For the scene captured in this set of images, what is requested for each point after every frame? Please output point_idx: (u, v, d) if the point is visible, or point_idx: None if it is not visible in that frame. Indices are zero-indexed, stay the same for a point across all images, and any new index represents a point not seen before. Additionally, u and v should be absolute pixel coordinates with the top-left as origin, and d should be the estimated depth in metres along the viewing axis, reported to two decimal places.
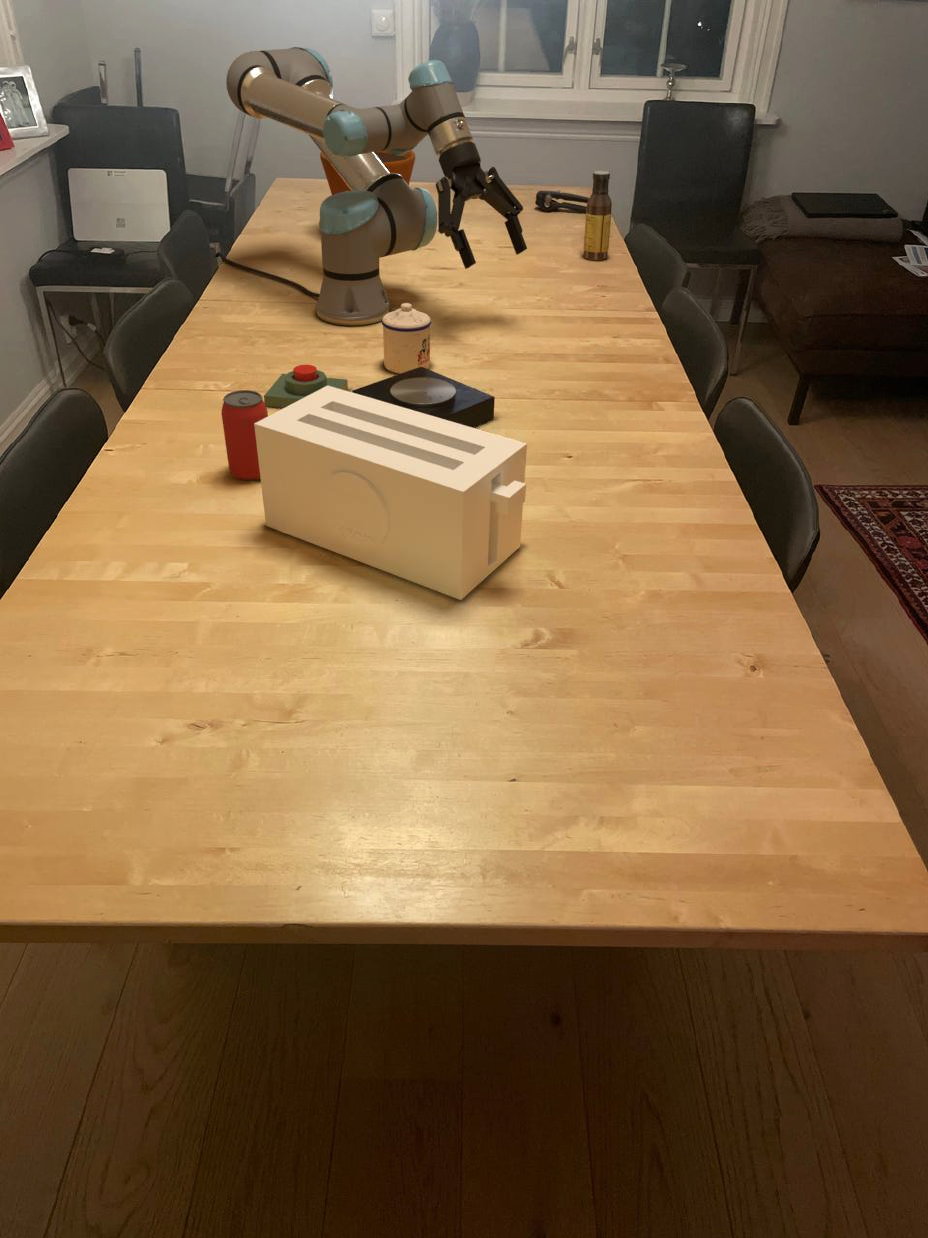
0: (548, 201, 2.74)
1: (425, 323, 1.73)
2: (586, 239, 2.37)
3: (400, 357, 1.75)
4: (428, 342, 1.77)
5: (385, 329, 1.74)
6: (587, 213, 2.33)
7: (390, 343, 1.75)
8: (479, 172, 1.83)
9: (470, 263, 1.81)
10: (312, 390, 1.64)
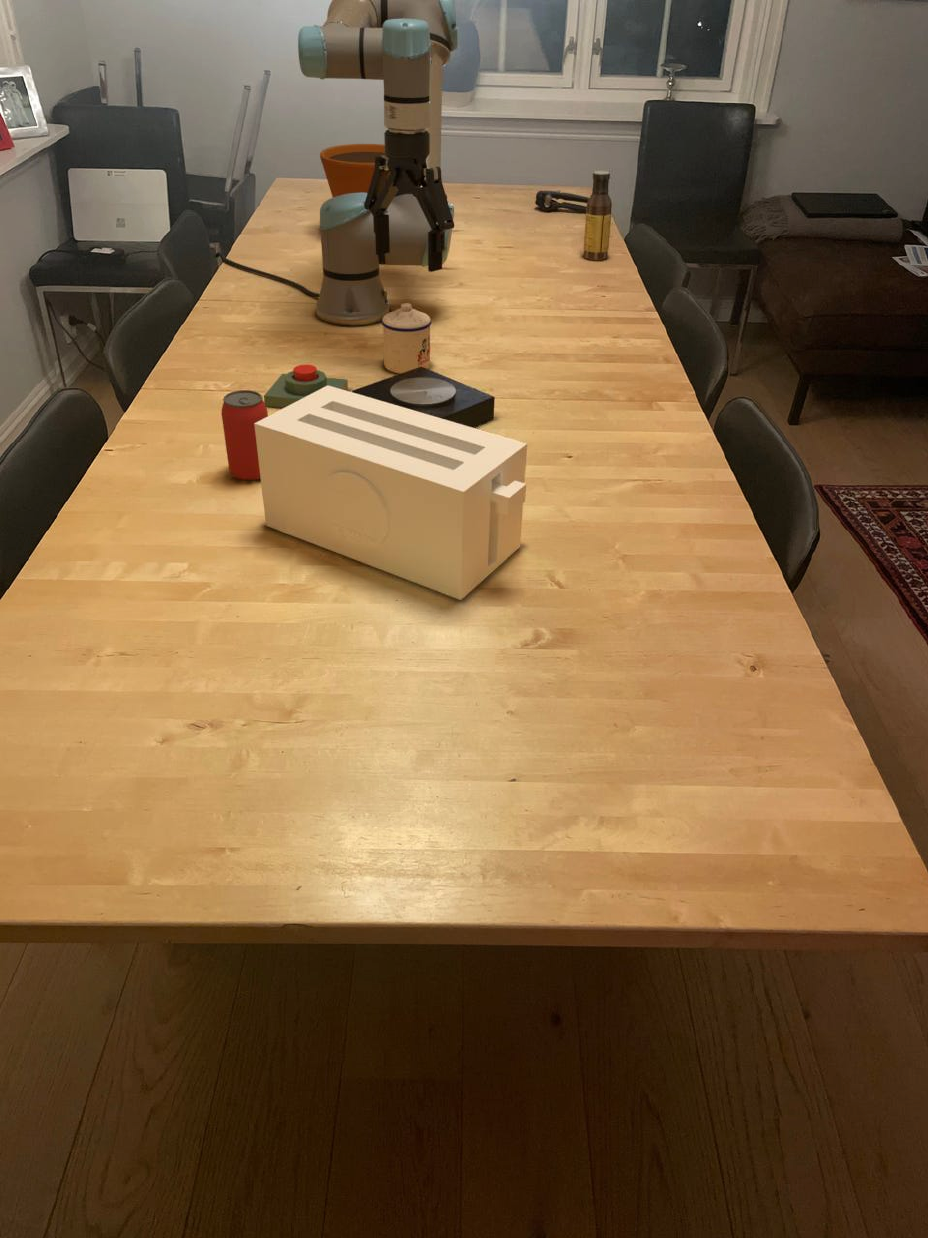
0: (548, 201, 2.74)
1: (425, 323, 1.73)
2: (586, 239, 2.37)
3: (400, 357, 1.75)
4: (428, 342, 1.77)
5: (385, 329, 1.74)
6: (587, 213, 2.33)
7: (390, 343, 1.75)
8: (413, 168, 1.59)
9: None
10: (312, 390, 1.64)
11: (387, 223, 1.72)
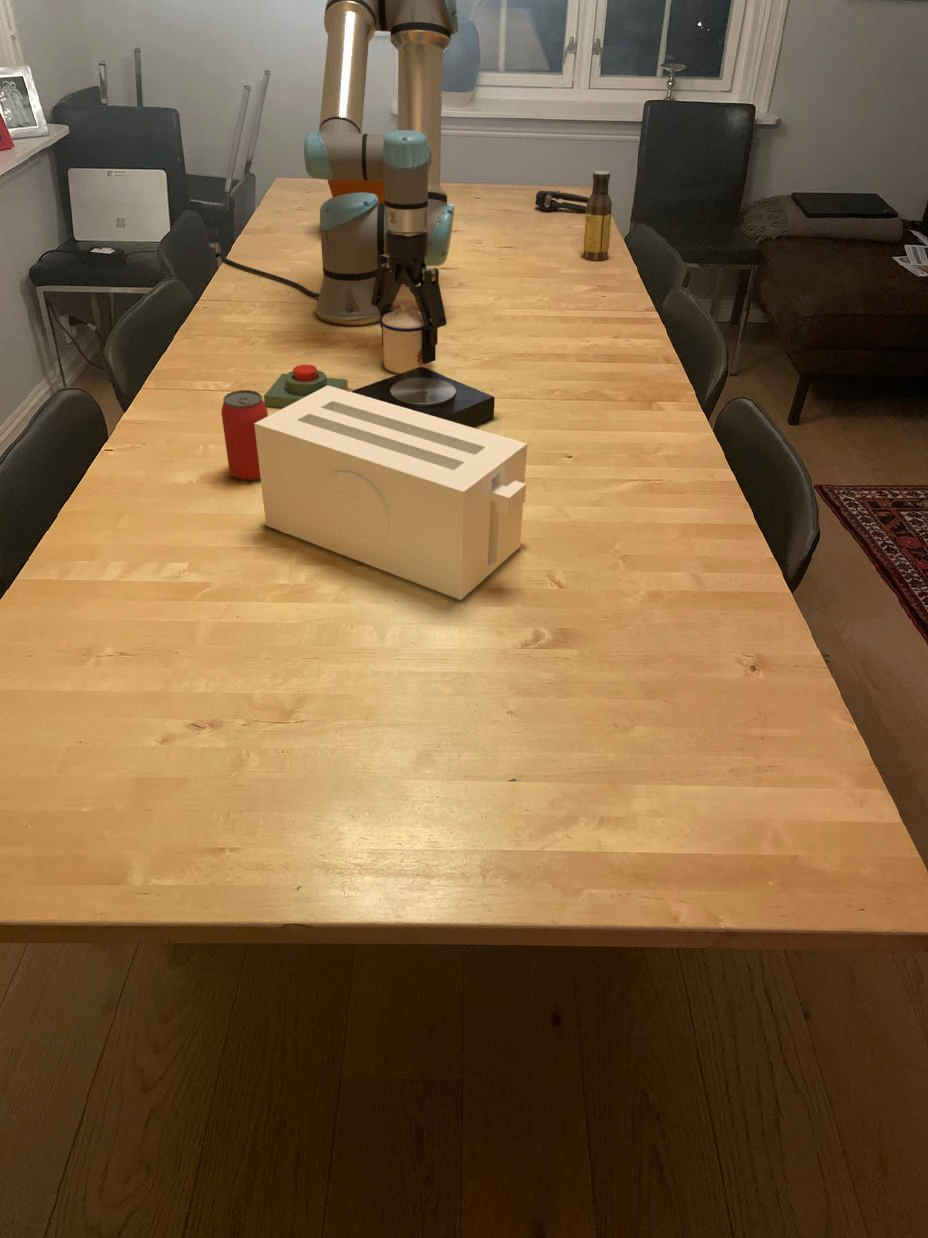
0: (548, 201, 2.74)
1: None
2: (586, 239, 2.37)
3: (400, 357, 1.75)
4: None
5: (385, 329, 1.74)
6: (587, 213, 2.33)
7: (390, 343, 1.75)
8: (412, 266, 1.68)
9: None
10: (312, 390, 1.64)
11: None
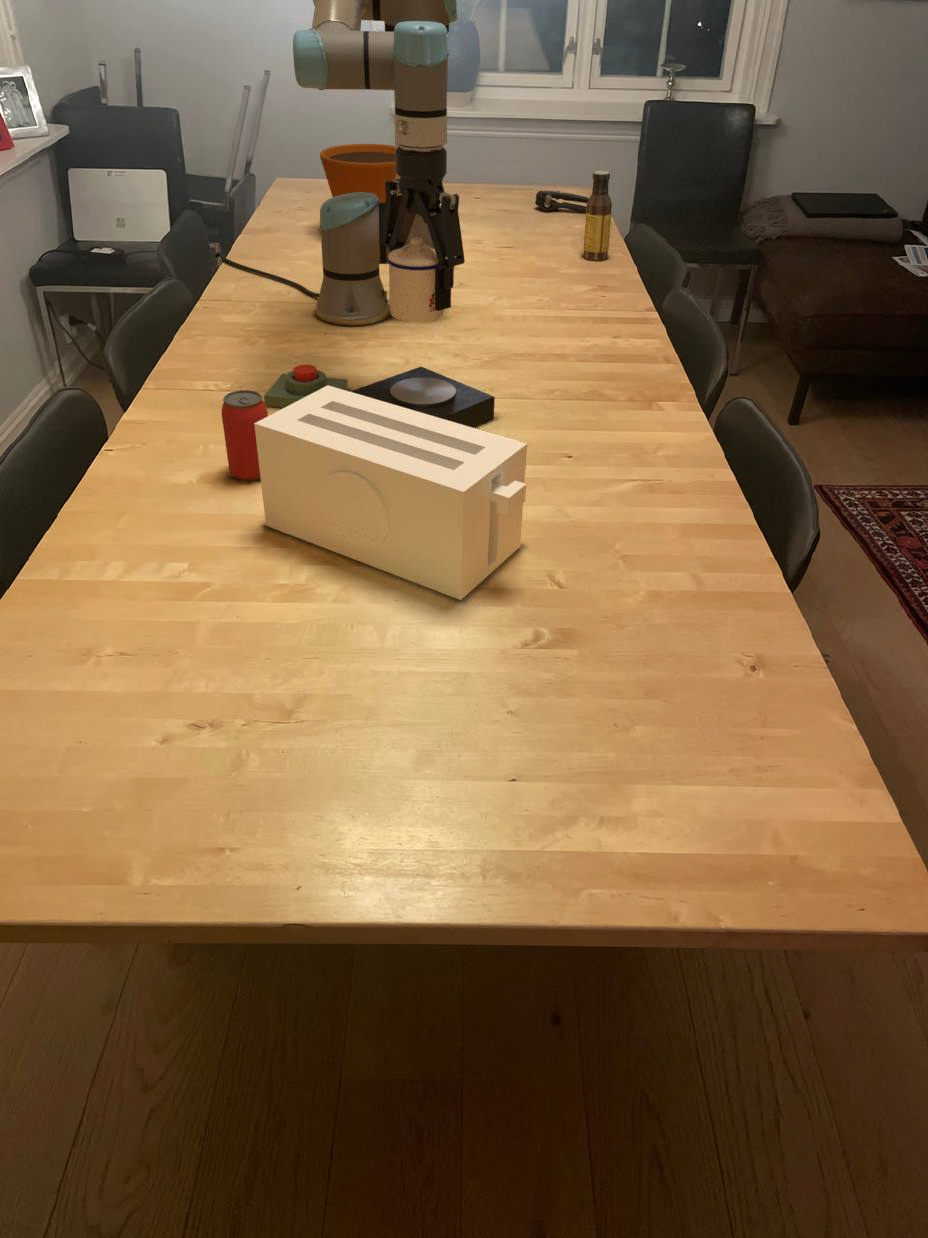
0: (548, 201, 2.74)
1: None
2: (586, 239, 2.37)
3: (409, 302, 1.48)
4: None
5: (391, 268, 1.47)
6: (587, 213, 2.33)
7: (397, 284, 1.48)
8: (428, 189, 1.41)
9: None
10: (312, 390, 1.64)
11: None
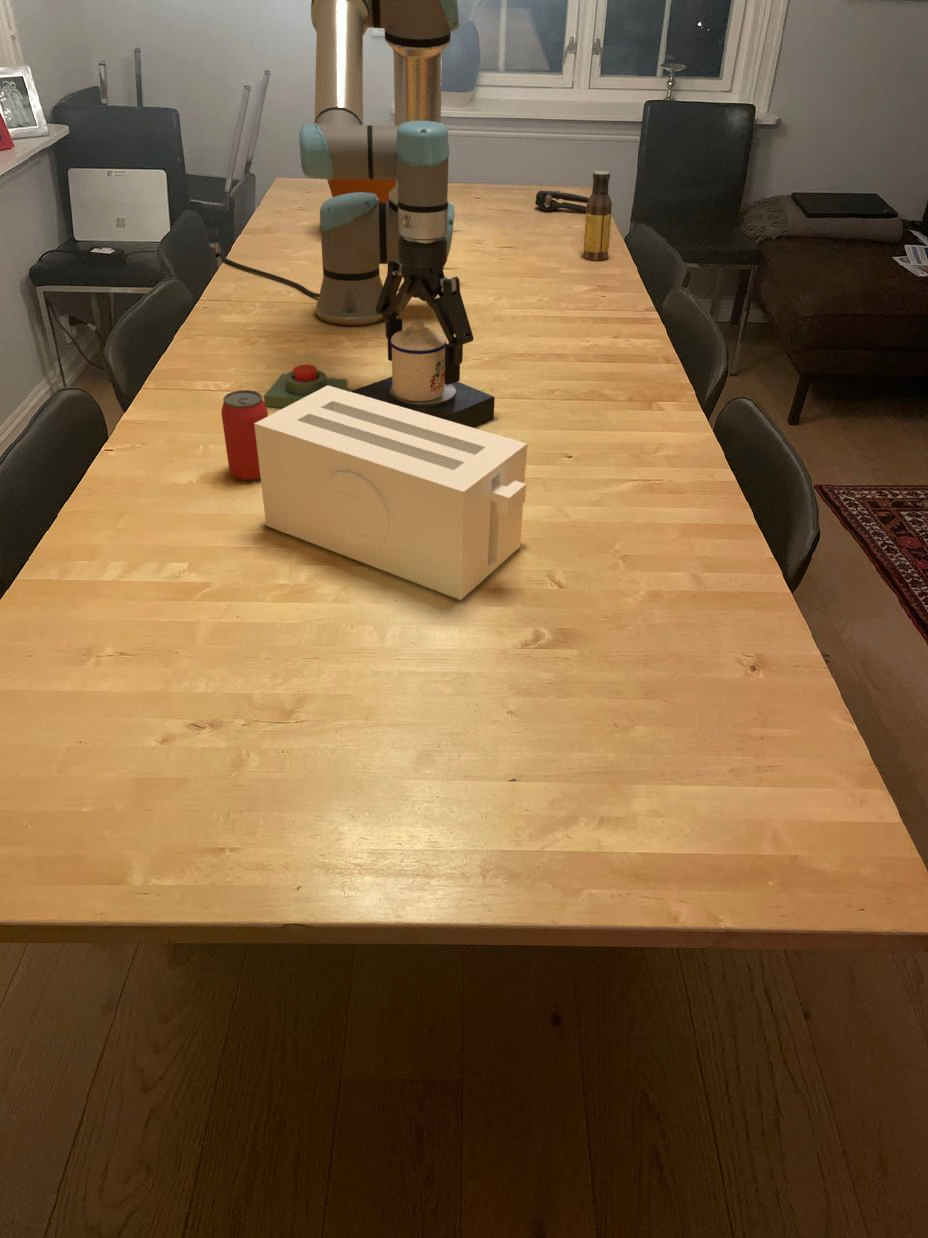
0: (548, 201, 2.74)
1: (439, 344, 1.53)
2: (586, 239, 2.37)
3: (411, 383, 1.55)
4: (442, 365, 1.56)
5: (394, 351, 1.54)
6: (587, 213, 2.33)
7: (400, 366, 1.54)
8: (429, 277, 1.47)
9: None
10: (312, 390, 1.64)
11: (400, 328, 1.59)
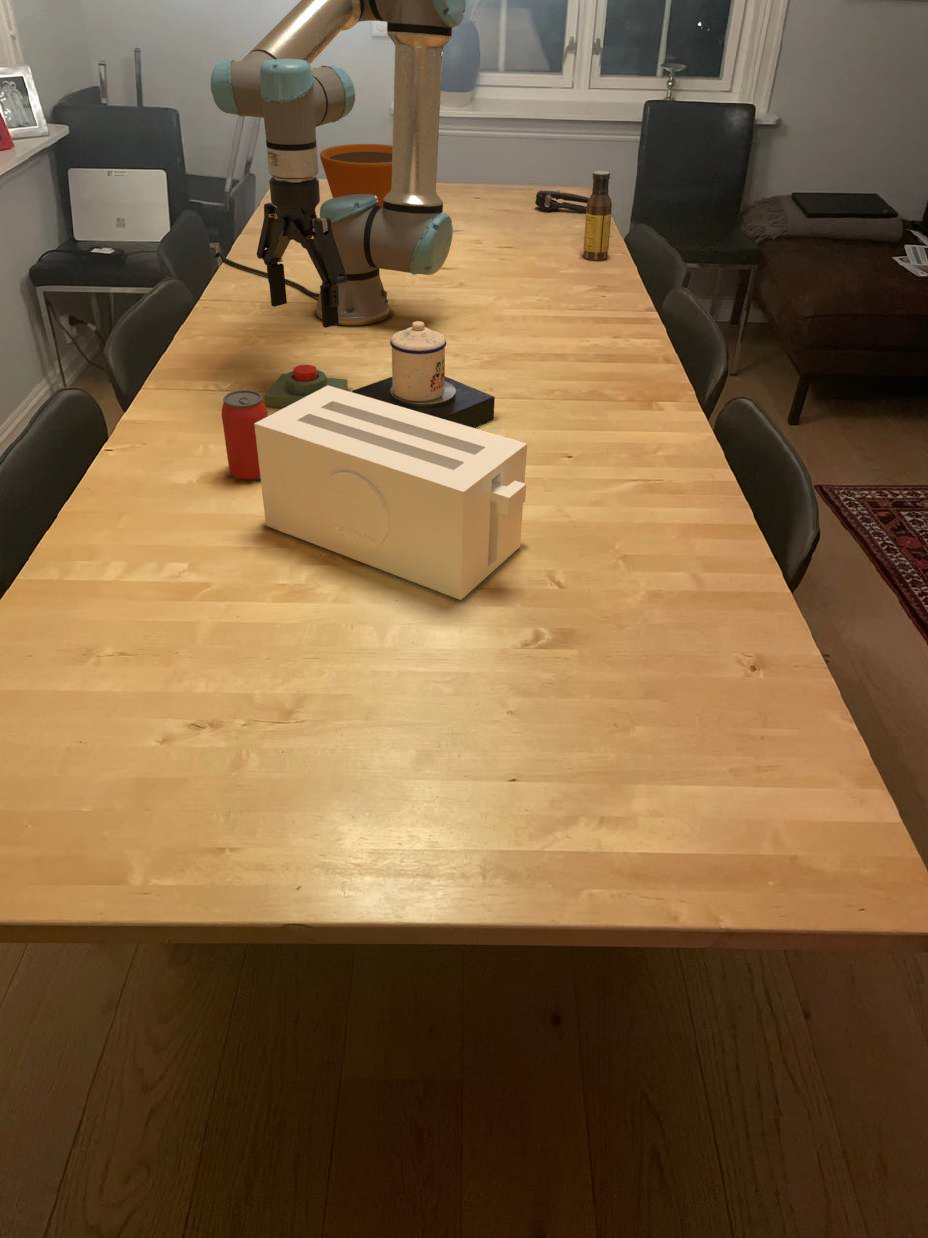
0: (548, 201, 2.74)
1: (439, 344, 1.53)
2: (586, 239, 2.37)
3: (411, 383, 1.55)
4: (442, 365, 1.56)
5: (394, 351, 1.54)
6: (587, 213, 2.33)
7: (400, 366, 1.54)
8: (301, 218, 1.47)
9: None
10: (312, 390, 1.64)
11: (282, 273, 1.60)
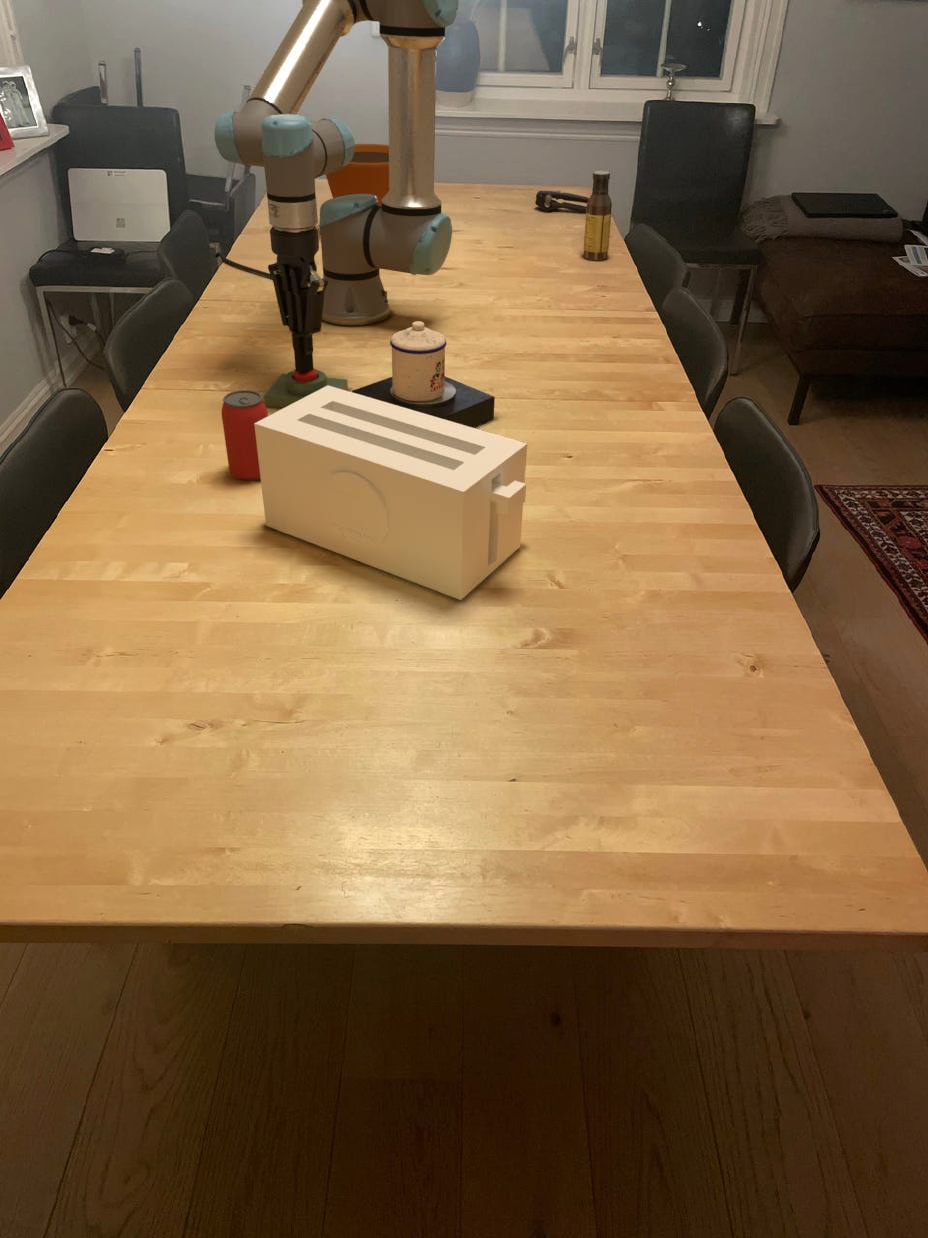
0: (548, 201, 2.74)
1: (439, 344, 1.53)
2: (586, 239, 2.37)
3: (411, 383, 1.55)
4: (442, 365, 1.56)
5: (394, 351, 1.54)
6: (587, 213, 2.33)
7: (400, 366, 1.54)
8: (302, 265, 1.52)
9: None
10: (312, 390, 1.64)
11: None
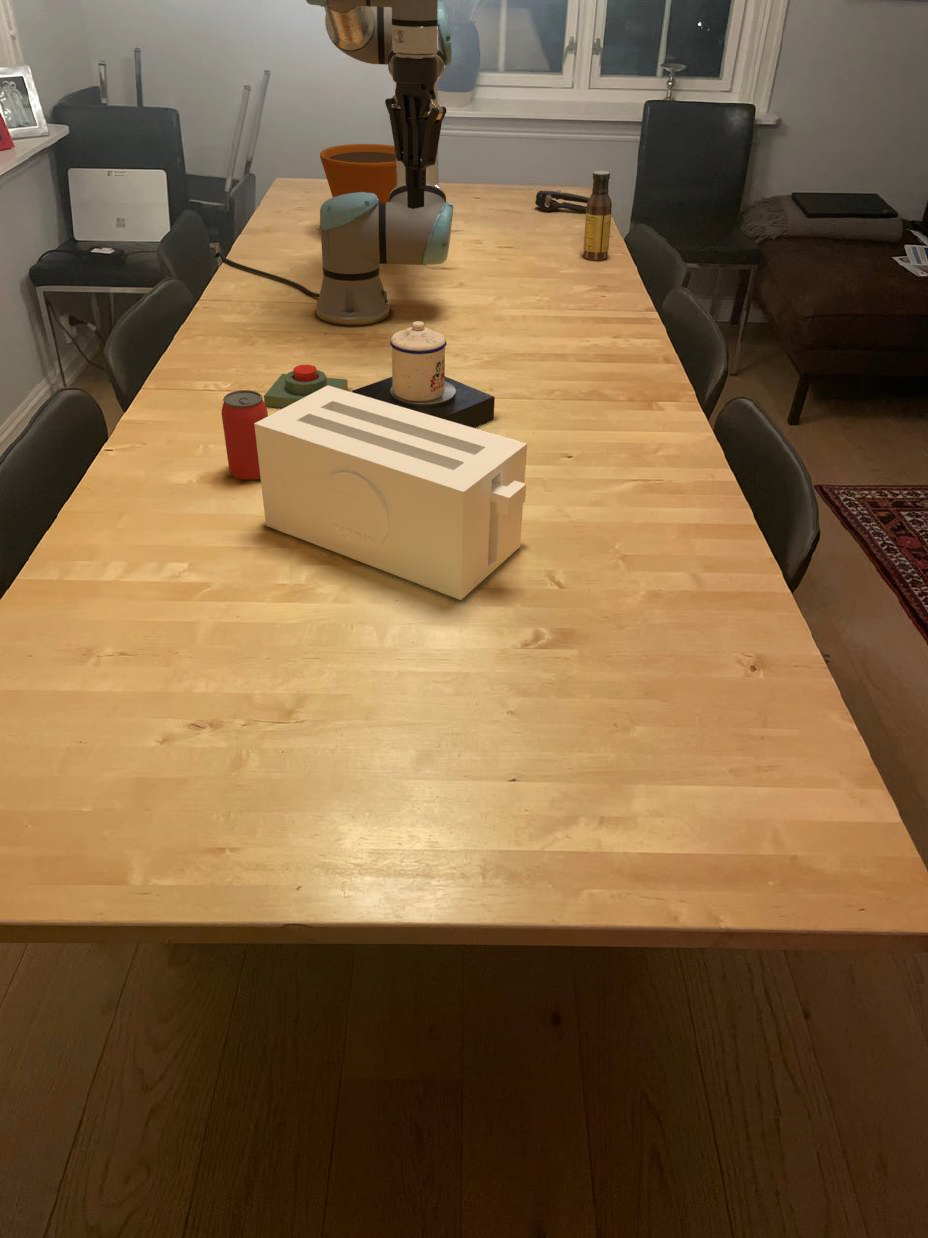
0: (548, 201, 2.74)
1: (439, 344, 1.53)
2: (586, 239, 2.37)
3: (411, 383, 1.55)
4: (442, 365, 1.56)
5: (394, 351, 1.54)
6: (587, 213, 2.33)
7: (400, 366, 1.54)
8: (422, 93, 1.59)
9: None
10: (312, 390, 1.64)
11: None
